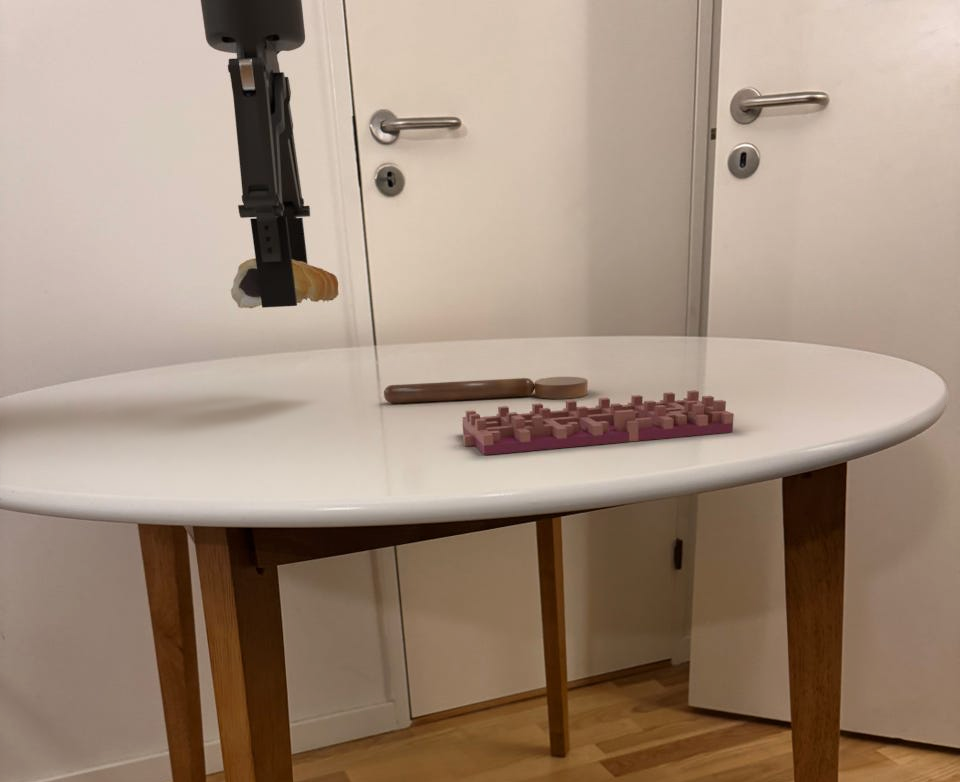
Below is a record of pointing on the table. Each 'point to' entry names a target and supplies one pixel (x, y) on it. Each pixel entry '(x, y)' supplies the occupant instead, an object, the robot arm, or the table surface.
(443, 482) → the table surface
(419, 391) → the wooden spoon
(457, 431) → the table surface
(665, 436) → the pink studded slab
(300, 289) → the pastry
